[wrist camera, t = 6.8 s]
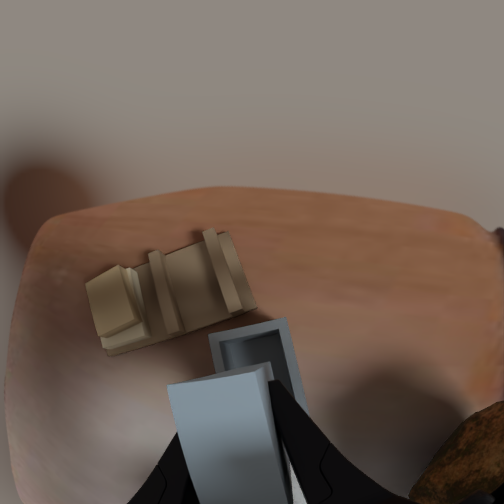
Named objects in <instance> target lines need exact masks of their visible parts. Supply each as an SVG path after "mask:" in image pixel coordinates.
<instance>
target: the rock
mask: <svg viewBox="0 0 504 504" xmlns="http://www.w3.org/2000/svg"><path fill="white" fill-rule="evenodd" d="M503 481H504V401H500V402H496V403H494V404H493V405H491V406H489V407H487V408H485V409H483V410H481V411H479V412H475V413H474V414H473V415H471V416H470V417H469V418H467V419H466V420H465V421H463V422H462V423H461V425H460V426H459V427H458V428H457V429H456V430H455V432H454V433H453V434H452V435H451V436H450V437H449V439H448V440H447V441H446V442H445V444H444V445H443V446H442V447H441V448H440V450H439V451H438V452H437V453H436V455H435V456H434V458H433V459H432V461H431V463H430V464H429V466H428V467H427V469H426V470H425V471H424V473H423V474H422V476H421V477H420V479H419V480H418V481H417V483H416V484H415V485H414V486H413V487H412V489H411V491H410V493H409V495H408V496H409V500H412V501H415V502H418V503H422V504H453V503H455V502H457V501H458V500H460V499H462V498H464V497H465V496H467V495H469V494H470V493H472V492H474V491H475V490H477V489H480V490H482V491H484V492H487V493H490V492H492V491H493V490H494V489H495V488H496V487H498V486H499V485H500V484H501V483H502V482H503Z"/></svg>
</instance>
